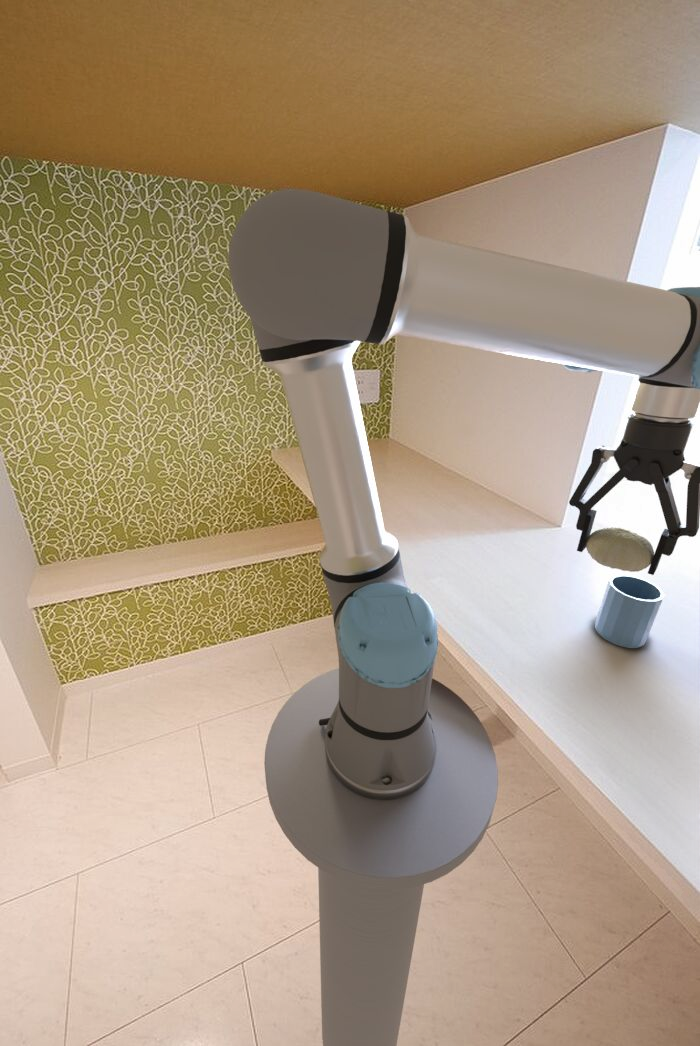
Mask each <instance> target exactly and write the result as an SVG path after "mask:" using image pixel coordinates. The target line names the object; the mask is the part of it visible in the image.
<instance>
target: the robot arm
mask: <svg viewBox="0 0 700 1046" xmlns="http://www.w3.org/2000/svg"><path fill="white" fill-rule="evenodd" d="M228 271H229V277H230V282H231V284H232V288H233V291H234V294H235V296H236V298H237V300H238V302H239V304H240V306H241V307H242V309H243V310H244V311H245V313H246V314H247V315H248V316H249V320H250V323H251V326H252V327H251V328H252V331H253V334H254V337H255V340H256V344H257V348H258V351H259V354H260V358H261V361H262V364H263V365H264V366H265V367H267V368H268V369H270V370H271V371H273V372H274V373H276V374H277V375H278V376H279V377H280V381H281V385H282V388H283V392H284V396H285V399H286V403H287V407H288V410H289V414H290V419H291V422H292V425H293V429H294V433H295V436H296V437H295V438H296V440H297V444H298V448H299V451H300V455H301V459H302V462H303V465H304V470H305V473H306V477H307V481H308V485H309V488H310V491H311V495H312V499H313V503H314V507H315V511H316V514H317V517H318V521H319V524H320V529H321V532H322V535H323V539H324V543H325V544H324V546H323V547H322V548H321V550H320V553H319V556H318V562H319V564H320V565H319V566H320V569H321V572H322V576H323V578H324V582H325V586H326V590H327V594H328V597H329V602H330V606H331V613H332V620H333V627H334V635H335V640H336V642H335V643H336V648H337V649H336V650H337V656H338V668H339V701H338V703H337V705H336V707H335V709H334V711H333V713H332V716H331V718H326V719H320V720H319V725H320V726H323V725H327V728H326V733H325V752H326V758H327V761H328V764H329V766H330V768H331V770H332V772H333V773H334V775H335V776H336V778H337V779H338V780H339V781H340V782H341V783H342V784H343V785H344V786H345V787H347V788H348V789H350V790H351V791H353V792H355V793H356V794H358V795H361V796H363V797H367V798H370V799H375V800H393V799H398V798H402V797H405V796H407V795H409V794H411V793H413V792H415V791H416V790H417V789H419V788H420V787H421V786H422V785H423V784H424V783H425V782H426V780H427V779H428V777H429V776H430V774H431V772H432V769H433V766H434V762H435V755H436V737H435V733H434V730H433V727H432V725H431V722H430V719H429V717H430V718H431V720H432V717H431V715H430V713H429V712H428V711H427V710H428V703H429V696H430V689H431V682H432V678H433V674H434V670H435V669H434V668H435V661H436V657H437V654H438V648H439V641H438V639H439V635H438V622H437V617H436V615H435V612H434V610H433V608H432V607H431V605H430V604H429V602H428V601H427V600H426V599H425V598H424V597H423V596H421V594H419V593H417V592H413V593H411V589H410V588H409V587H408V585H407V581H406V578H405V573H404V569H403V563H402V558H401V553H400V548H399V543H398V540H397V538H396V537H395V536H394V535H393V534H392V533H390V532H388V531H387V530H385V526H384V520H383V516H382V515H383V514H382V511H381V505H380V500H379V495H378V489H377V485H376V480H375V474H374V469H373V464H372V459H371V453H370V450H369V445H368V440H367V434H366V428H365V424H364V419H363V413H362V408H361V403H360V399H359V392H358V388H357V383H356V378H355V373H354V372H355V371H354V368H353V363H352V362H353V361H352V359H353V355H354V354H355V353H356V351H357V349H358V347H359V345H360V344H361V343H362V342H364V343H368V344H374V345H381V346H382V345H384V344H385V343H386V342H387V341H389V340H390V339H391V338H392V337H395V336H399V337H400V336H401V337H407V338H412V339H418V340H423V341H429V342H435V343H440V344H447V345H452V346H457V347H458V346H459V347H464V348H471V349H476V350H481V351H487V352H493V353H499V354H504V355H511V356H515V357H520V358H527V359H533V360H540V361H544V362H549V363H550V362H551V363H555V364H561V365H562V366H563V367H564V368H565V369H566V370H568V371H574V372H575V371H576V372H585V373H592V372H606V373H613V374H617V375H624V376H628V377H634V378H638V380H637V384H636V388H635V392H634V394H633V398H632V401H631V405H630V407H629V408H630V411H631V412H632V414H630V415H629V416H628V417H627V419H626V423H625V426H624V430H623V433H622V437H621V440H620V443H619V445H618V446H617V447H616V448H613V447H612V448H611V447H606V446H605V445H599V446H598V447H596V448H595V449H593V450H592V455H591V461H590V462H591V463H590V464H589V466H588V468H587V469H586V471H585V473H584V474H583V476H582V478H581V480H580V482H579V484H578V485H577V487H576V489H575V491H574V492H573V494H572V495H571V497H570V499H569V501H568V504H569V505H570V506H571V507H575V508H576V509H578V511H579V514H578V518H577V521H576V526H575V529H576V530H578V531H581V534H580V537H579V540H578V544H577V547H576V551H577V552H579V553H583V551H584V550H585V549H587V548H586V540H587V538H588V537H589V536H590V535H591V534H592V533H591V532H592V529H593V525H594V522H595V518H596V515H597V510H595V509H592V508H593V507H594V506H595V505H597V504H598V503H599V502H600V501H601V500H602V499H603V498H604V497H605V496H606V495H607V494H608V493H610V492H611V491H612V490H613V489H614V488H615V487H616V486H617V485H618V484H619V483H620V482H621V481H622V480H623V479H626V481H629V482H641V483H642V484H644V485H648V486H652V485H654V489H655V491H656V493H657V496H658V500H659V503H660V507H661V510H662V511H661V512H662V514H663V517H664V521H665V526H666V528H664V529H663V531H662V533H661V534H660V537H659V540H658V543H657V546H656V548H655V551H654V557H653V560H652V562H651V565H649V568H648V570H647V574H649V575H651V576H654V575H655V573H656V571H657V569H658V567H659V564H660V561H661V559H662V556H663V555H664V556H668V557H670V556H672V554H673V552H674V550H675V548H676V546H677V543H678V540H679V538H680V537H689V538H694V537H696V536H697V534H698V531H699V529H700V463H695V462H691V461H688V460H686V458H685V456H684V455H685V454H684V453H685V449H686V446H687V444H688V441H689V438H690V435H691V432H692V430H693V426H694V424H693V421H692V420H691V419H693V418H696V416H697V415H698V412H699V409H700V286H686V287H685V286H684V287H672V288H670V289H667V290H666V289H663V288H657V287H654V286H649V285H645V284H640V283H635V282H632V281H627V280H623V279H617V278H613V277H608V276H605V275H600V274H596V273H591V272H587V271H582V270H577V269H574V268H569V267H565V266H560V265H555V264H551V263H546V262H541V261H538V260H533V259H529V258H525V257H520V256H515V255H511V254H507V253H502V252H496V251H493V250H488V249H486V248H485V249H484V248H480V247H476V246H470V245H466V244H463V243H457V242H453V241H449V240H445V239H440V238H436V237H431V236H427V235H422V234H419V233H417V232H416V231H415V229H414V227H413V226H412V223H411V222H410V219H409V217H408V216H407V215H405V214H401V213H397V212H394V211H393V212H392V211H390V210H389V211H388V210H383V209H380V208H376V207H372V206H370V205H365V204H363V203H362V204H361V203H359V202H355V201H351V200H347V199H344V198H341V197H337V196H333V195H329V194H325V193H321V192H317V191H313V190H310V189H300V188H285V189H279V190H275V191H272V192H270V193H267V194H265V195H262V196H261V197H260V198H258V199H256V200H255V201H254V202H253V203H251V204H250V205H249V206H248V207H247V208H246V210H244V211H243V213H242V215H241V216H240V218H239V220H238V221H237V223H236V225H235V227H234V230H233V232H232V235H231V238H230V243H229V249H228ZM612 457H613V458H614V461H615V462H616V465H617V467H618V469H619V470H618V471H616V472H615V473H614V475H612V476H611V477H610V479H608V480H607V481H606V482H605V483H604V484H603V485H602V486H601V487H600V488H599V489H598V490H597V491H596V492H594V494H593V495H591V497H590V498H589V499H587V500H586V499H584V497H585V496H586V494H587V492H588V491H589V489H590V487H591V485H592V484H593V482H594V480H595V479H596V477H597V475H598V473H599V472H600V470H601V468H602V467H603V466H604V463H607V462H608V461H609V460H610V459H611V458H612ZM680 470H682V471H683V472H684V478H685V479H686V480H688V483H687V488H686V489H687V490H686V515H685V524H682V522H681V519H680V515H679V511H678V507H677V504H676V501H675V500H676V499H675V497H674V493H673V489H672V486H671V485H672V483H671V478H670V476H672V475H674V474H676V472H678V471H680Z"/></svg>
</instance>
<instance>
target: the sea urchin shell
mask: <svg viewBox="0 0 700 1046" xmlns="http://www.w3.org/2000/svg"><path fill="white" fill-rule="evenodd" d="M585 549H586V551H587V553H588V554H589V556H590V557H591V559H592V560H594V561H595V562H596V563H597V564H599V565H601V566H603V567H607V568H610V569H616V570H620V571H624V572H630V573H632V572H633V573H634V572H640V571H643V570H645V569H647V568H648V567H650V565H651V562H652V560H653V557H654V554H655V551H654V547H653V545H652V543H651V542H650V541H649V540H648V539H647V538H646V537H644V536H641V535H639V534H638V533H635V532H633V531H630V530H627V529H625V528H621V527H614V526H613V527H603V528H600V529H596V530H595V531H593V532H592V533H590V536H589V537H588V538H587V540H586V548H585Z"/></svg>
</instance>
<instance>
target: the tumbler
mask: <svg viewBox="0 0 700 1046" xmlns="http://www.w3.org/2000/svg"><path fill="white" fill-rule="evenodd" d="M664 598H665V593H664V591H663V589H661V588H660V587H659V586H658V585H656V584H655V583H653V582H651V581H649V580H647V579H644V578H641V577H639V576H634V575H629V574H616V575H613V576H611V577H610V578H609V579H608V582H607V585H606V587H605V591H604V594H603V598H602V600H601V604H600V606H599V608H598V609H599V610H598V612H597V616H596V619H595V622H594V628H595V631H596V632H597V634H598V635H600V637H601V638H603V639H604V640H606V641H608V642H609V643H611V644H614V645H616V646H619V647H622V648H627V649H638V648H641V647H643V646H644V645H645V644H646V642H647V640H648V637H649V635H650V632H651V630H652V626H653V625H654V622H655V620H656V617H657V615H658V612H659V610H660V607H661V605H662V603H663V599H664Z"/></svg>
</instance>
